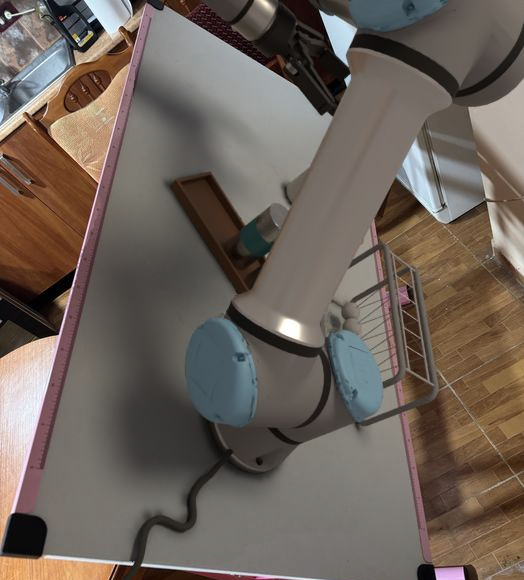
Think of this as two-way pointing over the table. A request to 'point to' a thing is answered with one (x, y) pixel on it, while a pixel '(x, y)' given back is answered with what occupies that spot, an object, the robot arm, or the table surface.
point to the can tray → (213, 220)
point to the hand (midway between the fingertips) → (350, 99)
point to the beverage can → (295, 186)
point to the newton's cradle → (352, 324)
